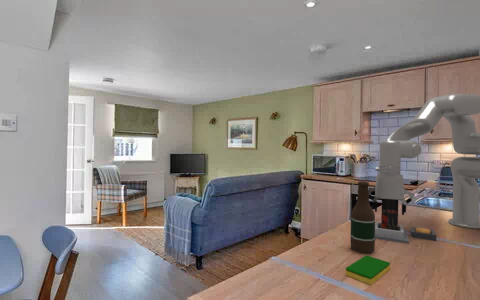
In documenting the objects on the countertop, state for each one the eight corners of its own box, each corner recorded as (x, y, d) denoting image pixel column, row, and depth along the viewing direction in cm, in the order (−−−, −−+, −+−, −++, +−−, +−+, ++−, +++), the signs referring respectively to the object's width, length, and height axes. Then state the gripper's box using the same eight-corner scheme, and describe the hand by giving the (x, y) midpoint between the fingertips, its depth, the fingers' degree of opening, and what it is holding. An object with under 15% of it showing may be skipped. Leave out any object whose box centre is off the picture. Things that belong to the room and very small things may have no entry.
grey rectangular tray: (372, 228, 118) (372, 220, 118) (406, 233, 111) (406, 224, 111) (369, 237, 106) (370, 228, 106) (408, 243, 99) (408, 234, 99)
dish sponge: (344, 276, 75) (345, 267, 75) (366, 262, 84) (366, 254, 84) (370, 286, 70) (371, 277, 70) (390, 270, 79) (390, 262, 79)
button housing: (410, 231, 113) (410, 226, 113) (433, 234, 109) (433, 229, 109) (411, 237, 106) (411, 231, 106) (436, 240, 102) (436, 235, 102)
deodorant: (400, 235, 105) (400, 197, 105) (383, 234, 106) (384, 196, 106) (394, 231, 111) (395, 195, 111) (379, 229, 112) (380, 194, 112)
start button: (414, 231, 111) (415, 226, 111) (429, 233, 109) (429, 228, 109) (415, 235, 107) (416, 230, 107) (431, 237, 104) (431, 232, 104)
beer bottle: (372, 247, 96) (373, 180, 95) (376, 255, 88) (377, 183, 88) (349, 244, 98) (350, 179, 98) (351, 252, 91) (352, 182, 90)
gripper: (365, 170, 109) (365, 212, 109) (415, 172, 100) (415, 217, 101) (366, 169, 116) (366, 208, 116) (414, 171, 107) (413, 213, 107)
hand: (389, 212), depth 108 cm, fingers open, 9 cm apart
